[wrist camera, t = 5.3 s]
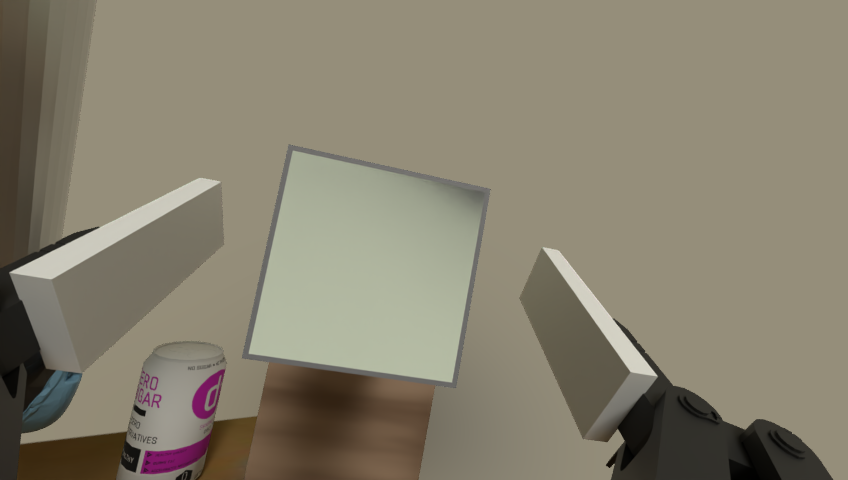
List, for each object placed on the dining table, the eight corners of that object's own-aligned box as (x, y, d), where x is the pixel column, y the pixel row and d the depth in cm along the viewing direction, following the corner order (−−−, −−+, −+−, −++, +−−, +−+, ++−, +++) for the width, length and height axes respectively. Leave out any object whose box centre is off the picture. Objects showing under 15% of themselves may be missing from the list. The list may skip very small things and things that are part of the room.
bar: (455, 388, 7) (490, 189, 7) (241, 357, 6) (288, 144, 7) (393, 279, 37) (400, 242, 37) (354, 272, 36) (362, 234, 36)
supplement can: (216, 463, 43) (241, 347, 44) (168, 511, 35) (201, 366, 36) (154, 452, 43) (181, 336, 44) (92, 497, 35) (126, 353, 36)
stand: (380, 818, 18) (468, 310, 20) (144, 825, 17) (264, 274, 19) (379, 525, 38) (424, 282, 40) (271, 516, 37) (323, 264, 38)
